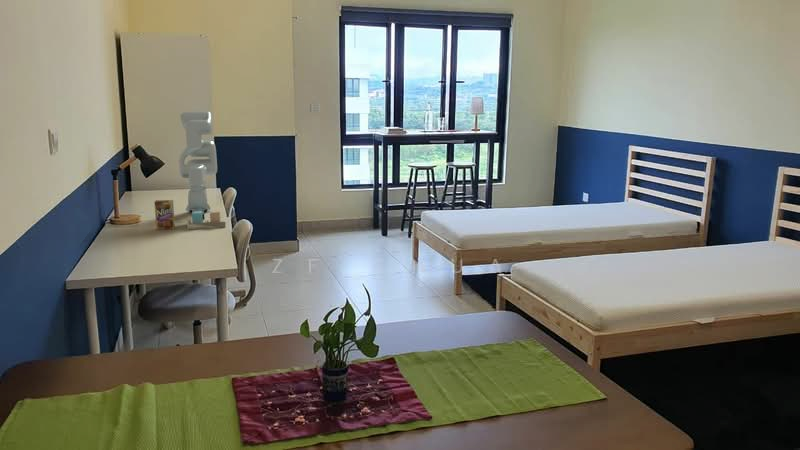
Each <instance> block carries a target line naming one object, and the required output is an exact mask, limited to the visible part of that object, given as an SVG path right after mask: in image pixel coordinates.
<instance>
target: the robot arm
mask: <svg viewBox="0 0 800 450" xmlns="http://www.w3.org/2000/svg"><path fill="white" fill-rule="evenodd" d="M180 121H181V124H182V127H183V129H184V131H185V139H186V141H185V142H186V144H185V145H186V147H185V148H184V149H183V151H182V152H181V154H180V156H179V160H178V161H179V162H178V163H179V166H178V169H179V175H180V177H181V178H183V179H188V185H189V190H188V195H187V206H186V208H185V211H187V212H188V213H190V214H192V212H196V211H202V217H203V221H205V220H206V218H205V214H206V213H210V211H211V208H212V207H211V206H210V204H209V203H208V196H207V183H206V181H205V180H206V179H204V178H205V177H206V176H210V175H211V176H212V175H216V174H217V173H218V159H217V149H216V147H217V146H216V144H215V142H214V141H212V140H204V139H203V136H205V135H206V136H207V135H208V136H209V135H211V134H212V133H213V128H214V127H213V126H214V125H213V116H212V113H211V112H210V111H208V110H207V111H206V110H199V111H197V110H189V111H188V110H186V111H182V112H181V113H180ZM187 157H191V158H194V157H195V159H190V160H188V161H187V162H186V164H185V160H186V158H187ZM203 157H204V158H203Z"/></svg>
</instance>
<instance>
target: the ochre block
mask: <svg viewBox="0 0 800 450" xmlns="http://www.w3.org/2000/svg"><path fill="white" fill-rule="evenodd" d="M220 212H221V210H210V211H209V218H210V219H209V220H210V221H209V222H220V221H221V213H220Z"/></svg>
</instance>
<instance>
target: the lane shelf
mask: <svg viewBox="0 0 800 450" xmlns="http://www.w3.org/2000/svg"><path fill="white" fill-rule="evenodd" d="M191 221H192V218H191V219H187V222H186V229H187V230H191V229H193V230H194V229H212V228H213V229H214V228H215V229H217V228H226V225H227V223H226V221H227V220H226V217H223V218H222V221H221V220H220V222H210V221H209V218H205V219H204V221H203V222H199V223H192V222H191Z"/></svg>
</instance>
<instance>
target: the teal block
mask: <svg viewBox="0 0 800 450" xmlns="http://www.w3.org/2000/svg"><path fill="white" fill-rule="evenodd" d="M191 221H192V222H191V223H199V222H204V220H203V217H202V211H196V212H192V213H191Z"/></svg>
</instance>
